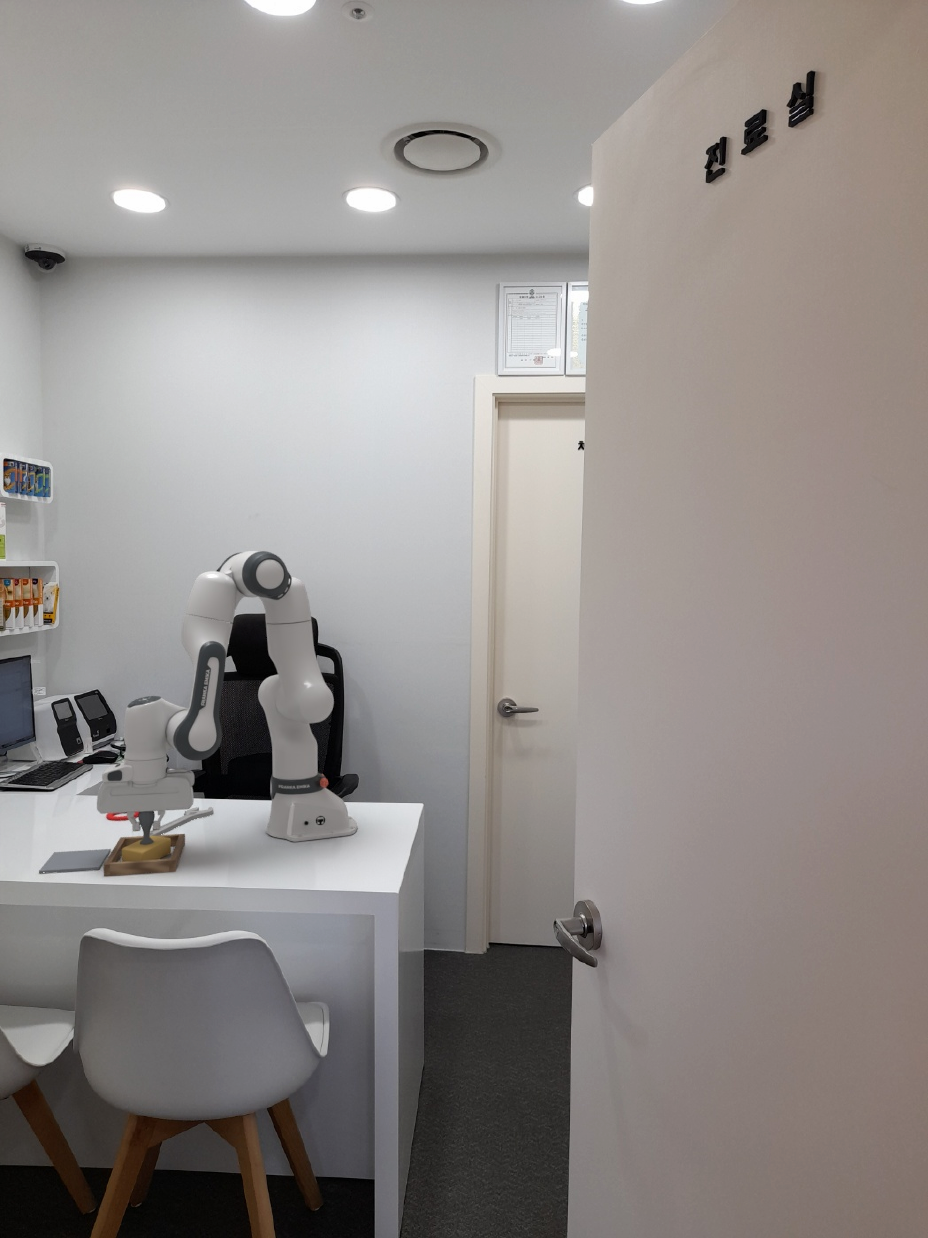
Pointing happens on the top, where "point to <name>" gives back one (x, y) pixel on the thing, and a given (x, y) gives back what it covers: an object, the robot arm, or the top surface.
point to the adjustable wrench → (182, 820)
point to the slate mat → (75, 861)
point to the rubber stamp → (147, 842)
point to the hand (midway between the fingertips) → (146, 830)
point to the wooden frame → (143, 866)
